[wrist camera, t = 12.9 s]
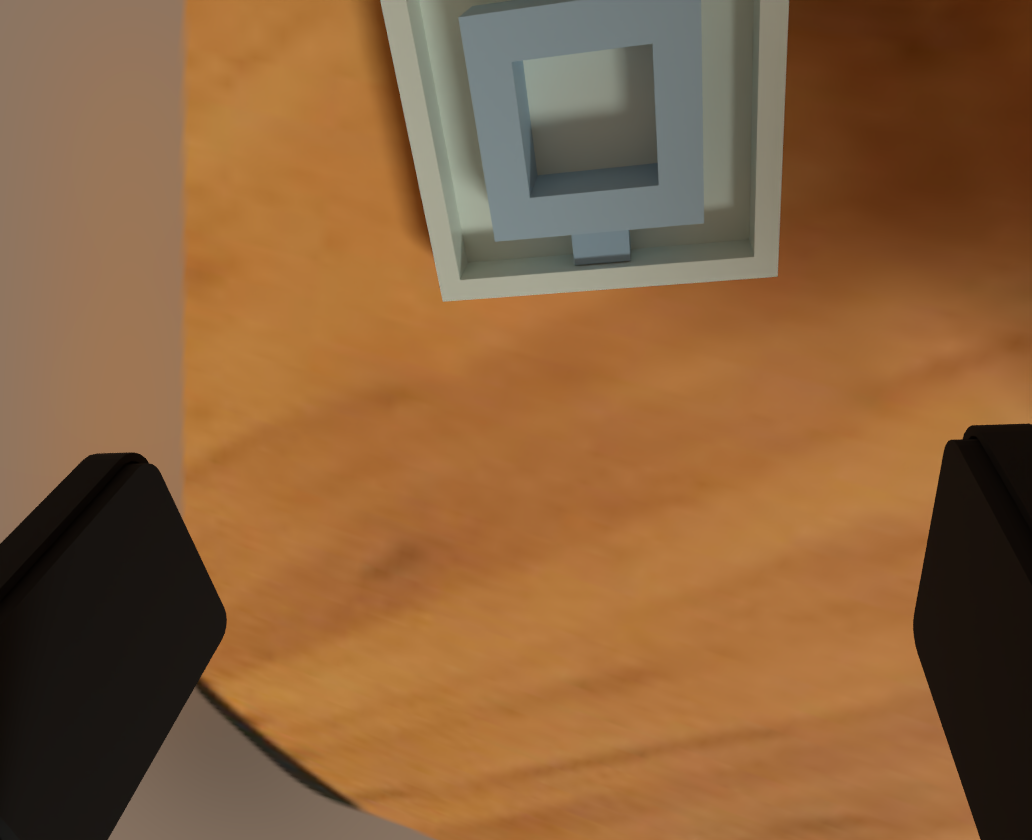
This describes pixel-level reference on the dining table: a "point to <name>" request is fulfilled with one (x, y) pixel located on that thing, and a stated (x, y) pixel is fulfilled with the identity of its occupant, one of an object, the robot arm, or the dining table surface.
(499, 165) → the blue-grey rectangular frame
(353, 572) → the dining table surface
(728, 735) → the dining table surface
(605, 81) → the tray
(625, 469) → the dining table surface
